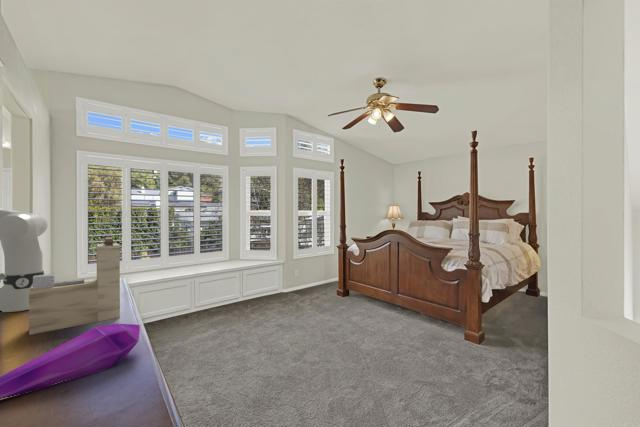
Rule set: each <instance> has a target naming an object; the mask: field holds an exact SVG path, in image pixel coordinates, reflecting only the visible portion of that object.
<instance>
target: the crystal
mask: <svg viewBox="0 0 640 427" xmlns="http://www.w3.org/2000/svg"><path fill="white" fill-rule="evenodd" d="M140 331H141V324H135V323H134V324H132V323H121V322H120V323H119V322H118V323H117V322H116V323H111V324H106V325H100V326H95V327H94V328H93V327H92V328H91V329H90V330H87V331H85V332H83V333H82V334H79V335H78V336H76V337H74V338H72V339H70V340H68V341H66V342H64V343H62V344H60V345H59V346H57V347H56V346H55V347H54V348H53V349H51V350H48V351H47V352H45V353H43V354H41V355H40V356H37V357H35V358H33V359H32V360H29V361H27V362H25V363H24V364H22V365H20V366H18V367H15V369H12V370H10V371H9V372H6V373H4V374H2V375H0V399H1V398H5V397H10V396H14V395H18V394H22V395H24V394H23V393H26V392H29V393H31V392H30V391H32V392H35V391H38V390H37V389H39V390H41V389H40V388H42V389H45V388H47V387H46V386H49V385H52V384H55V383H58V382H61V381H65V380H68V381H70V380H69V379H72V380H74V379H73V378H75V379H77V378H76V377H78V378H80V377H79V376H82V377H84V376H83V375H85V376H88V375H91V374H90V373H92V374H94V373H93V372H95V373H98V372H102V371H105V370H108V369H110V368H111V367H112V366H114V365H115V364H117V363H118V362H119V361H121V360H122V359H123V358H125V357H126V356H128V355H129V353H130V352H131V351H132V350H133V349H134V347H135V346H136V345H137V344H138V343H139V341H140ZM104 369H105V370H104ZM101 370H102V371H101ZM97 371H98V372H97ZM87 374H88V375H87ZM65 382H66V381H65ZM55 385H56V384H55ZM52 386H53V385H52ZM44 387H45V388H44ZM49 387H50V386H49ZM34 390H35V391H34ZM26 394H27V393H26Z"/></svg>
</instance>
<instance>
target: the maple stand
mask: <svg viewBox="0 0 640 427" xmlns="http://www.w3.org/2000/svg"><path fill="white" fill-rule="evenodd" d="M120 246H121V244H119V243H114V239H113V237H108V236H107V237H104V244H103V243H102V244H101V243H100V244H99V243H98V244H96V279H89V280H88V279H87V280H84V283H80V284H72V285H64V286H56V287H52V288H44V289H36V290H33V287H31V289H30V290H29V309H28V324H29V325H28V335H36V334H41V333H45V332H51V331H52V332H53V331H58V330H62V329H66V328H72V327H77V326H82V325H88V324H93V323H97V322H103V321H108V320H113V319H118V318H120V317H121V291H120V290H121V282H120V281H121V278H120V277H121V273H120V272H121V271H120V270H121V268H120V267H121V264H120V263H121V262H120V251H121V250H120V248H121V247H120Z"/></svg>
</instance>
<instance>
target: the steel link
mask: <svg viewBox="0 0 640 427" xmlns="http://www.w3.org/2000/svg"><path fill="white" fill-rule="evenodd" d="M84 281H85V279H74V280H73V279H72V280H67V281H59V282H55V273H49V274H46V273H44V275H36V276H34V277H33V290H36V289H44V288H52V287H56V286H64V285H72V284H80V283H84Z"/></svg>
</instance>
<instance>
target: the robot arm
mask: <svg viewBox="0 0 640 427" xmlns="http://www.w3.org/2000/svg"><path fill="white" fill-rule="evenodd" d="M47 228H48V221H47V220H46V219H45V218H44V217H43V216H41V215H39V214H36V213H34V212H33V213H31V212H28V211H27V212H25V211H20V210H13V209H12V210H11V209H6V208H0V245H1V248H2V251H3V255H4V257H3V258H4V260H3V261H4V272H2V273H0V283H1V281H2V284H3V285H2V286H1V287H0V310H1V311H2V312H1V313H14V312H22V311H27V310H28V311H29V290H30V289H31V287H33V277H34V276H36V275H45V271H44V269H43V266H44V265H43V251H42V249H41V247H40V242H39V238H38V237H40V236H42V235H43V234H44V233H46V230H47Z"/></svg>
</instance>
